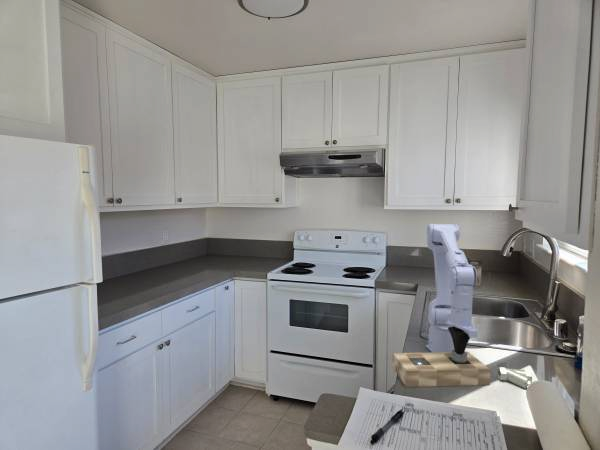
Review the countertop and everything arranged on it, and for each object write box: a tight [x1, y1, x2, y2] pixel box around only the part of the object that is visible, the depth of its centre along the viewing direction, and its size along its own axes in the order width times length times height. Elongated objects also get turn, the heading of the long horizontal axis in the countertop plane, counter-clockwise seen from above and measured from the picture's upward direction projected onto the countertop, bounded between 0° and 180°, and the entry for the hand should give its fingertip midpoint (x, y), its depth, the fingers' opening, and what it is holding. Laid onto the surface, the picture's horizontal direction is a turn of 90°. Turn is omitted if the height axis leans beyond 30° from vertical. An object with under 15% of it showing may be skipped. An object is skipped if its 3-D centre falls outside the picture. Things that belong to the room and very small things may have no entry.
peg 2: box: [451, 350, 467, 364], centre depth 109 cm, size 4×4×4 cm
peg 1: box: [412, 358, 427, 365], centre depth 108 cm, size 4×4×4 cm
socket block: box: [391, 351, 492, 388], centre depth 109 cm, size 12×24×4 cm, turn 94°
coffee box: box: [466, 258, 483, 285], centre depth 227 cm, size 9×6×16 cm
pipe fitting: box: [496, 366, 533, 390], centre depth 105 cm, size 8×4×7 cm
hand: (459, 352), depth 109 cm, fingers closed, pressing on peg 2
